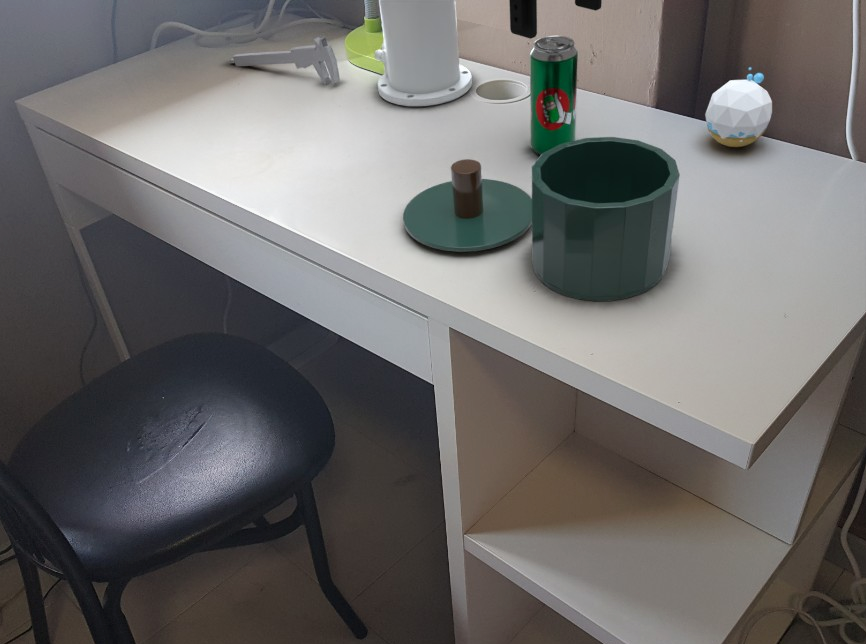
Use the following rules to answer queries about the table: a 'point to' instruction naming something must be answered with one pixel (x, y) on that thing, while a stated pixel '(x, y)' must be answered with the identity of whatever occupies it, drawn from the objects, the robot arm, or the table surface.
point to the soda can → (553, 92)
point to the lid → (468, 212)
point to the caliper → (297, 59)
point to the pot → (603, 217)
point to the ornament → (739, 112)
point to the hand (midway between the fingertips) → (556, 21)
